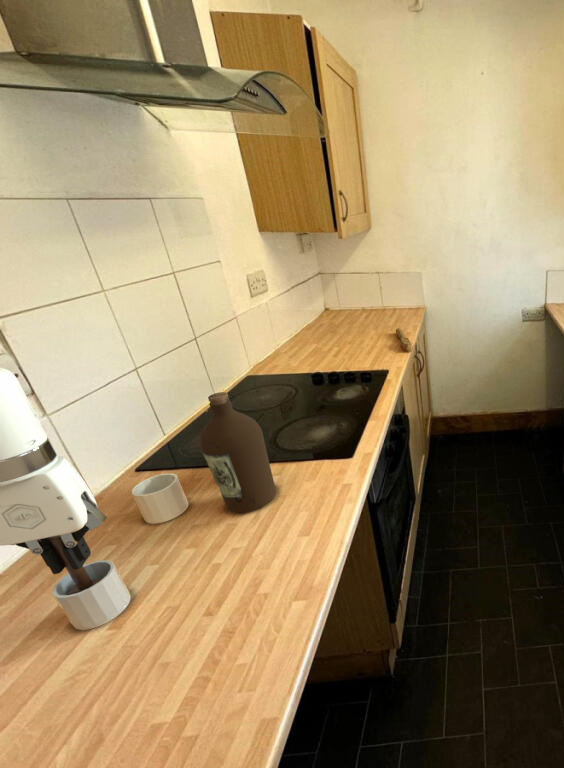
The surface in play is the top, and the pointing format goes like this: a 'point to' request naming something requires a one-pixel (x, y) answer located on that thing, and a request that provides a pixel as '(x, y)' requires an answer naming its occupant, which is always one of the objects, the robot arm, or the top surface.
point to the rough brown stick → (404, 340)
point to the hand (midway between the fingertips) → (72, 563)
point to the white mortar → (93, 596)
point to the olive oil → (237, 457)
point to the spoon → (78, 575)
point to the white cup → (160, 498)
